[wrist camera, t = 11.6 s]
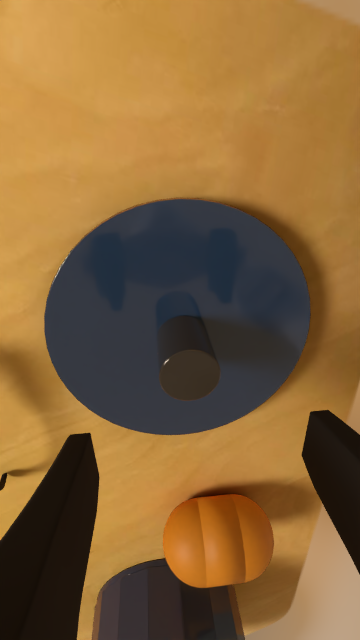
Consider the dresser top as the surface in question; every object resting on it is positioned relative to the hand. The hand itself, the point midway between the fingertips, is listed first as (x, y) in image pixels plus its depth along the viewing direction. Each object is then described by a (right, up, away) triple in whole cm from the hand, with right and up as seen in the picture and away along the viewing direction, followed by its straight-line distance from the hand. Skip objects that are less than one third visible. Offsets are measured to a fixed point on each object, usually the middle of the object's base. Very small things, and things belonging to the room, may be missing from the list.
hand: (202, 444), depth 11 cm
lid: (-1, +3, +6) cm, 7 cm away
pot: (-2, -21, +19) cm, 28 cm away
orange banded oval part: (+2, -10, +14) cm, 17 cm away
